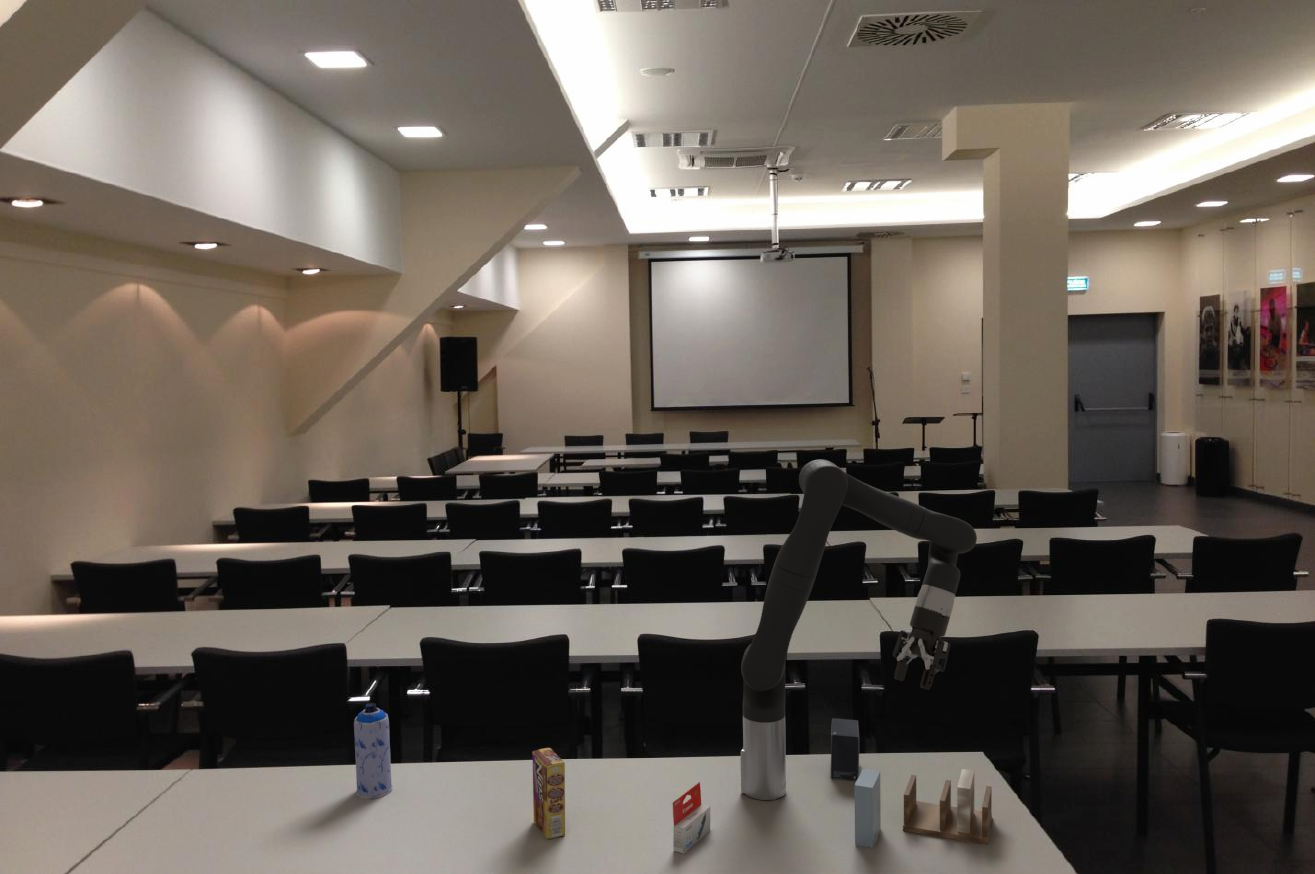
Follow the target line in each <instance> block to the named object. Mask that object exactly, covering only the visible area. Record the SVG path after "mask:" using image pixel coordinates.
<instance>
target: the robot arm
mask: <svg viewBox="0 0 1315 874" xmlns="http://www.w3.org/2000/svg"><path fill="white" fill-rule="evenodd" d="M798 483H799V487H800V489H801V491H802V493H803V499H802V503H801V507H800V509H799V510H800V511H799V514H798V518H797V520H796V523H795V525H794V527H793V528H792V531H790V534H789V535H788V536H787V537H786V540H785V541H784V543H783V544H782V546H781V547H780V549H779V551H778V553H777V555H776V558H775V561H774V563H773V567H772V569H771V573H770V576H769V579H768V583H767V587H766V591H765V595H764V600H763V605H762V609H761V616H760V620H759V623H758V626H757V629H756V632H755V635H754V637H753V639H752V641H751V643H750V644H749V645H748V646H747V647H746V649H745V650H744V653H743V656H742V658H741V659H742V660H741V665H740V670H741V676H742V678H743V691H742V692H743V696H742V697H743V698H742V734H743V736H742V740H743V741H742V744H743V746H742V749H741V750H740V753H739V754H740V793H741V794H743V793H745V794H744V795H746V794H747V795H746V796H748V797H750V798H752V799H755V800H762V801H763V800H764V801H770V800H771V801H773V800H776V799H777V800H778V799H779V798H782V797H784V796H785V795H786V793H787V769H786V768H787V764H786V763H787V761H786V757H787V756H786V752H787V751H786V750H787V749H786V660H787V655H788V651H789V647H790V643H791V640H792V637H793V633H794V631H795V629H796V627H797V624H798V623H799V620H800V618H801V616H802V614H803V612H804V609H805V607H806V605H807V602H808V600H809V597H810V595H811V593H812V590H813V587H814V583H815V581H816V578H817V574H818V572H819V568H820V565H821V561H822V558H823V555H824V551H825V549H826V544H827V541H828V538H829V536H830V535H829V534H830V531H831V529H832V526H833V524H834V523H835V520H836V518H837V516H838V514H839V511H840V509H841V507H842V506H844V507H847V508H850V509H851V510H854V511H855V512H856V511H857V512H859V513H861V514H862V515H865V516H866V517H868V518H870V519H872V520H874V521H875V522H877V523H879V524H881V525H883V526H885V527H887V528H889V529H892V530H893V531H896V532H899V533H900V534H903V535H905V536H907V537H910V538H912V539H916V540H922V541H927V542H929V546H928V547H929V548H928V560H927V561H928V562H927V563H928V564H927V568H926V572H925V574H924V579H923V581H922V585H921V588H920V590H919V592H918V594H917V598H916V601H915V605H914V608H913V611H912V615H911V618H910V622H909V626H910V627H911V631H910V632H908V631H906V630H902V629H901V630H900V631H899V634H898V637H897V640H896V643H895V645H894V649H893V652H892V657H894V658H895V659H896V661H897V664H896V666H895V670H894V674H893V675H894V676H893V677H894V679H895V680H897V681H899V682H904V681H905V679H906V675H907V672H908V668H909V663H910V662H911V661H912V660H913V659H917V657H920V658H921V660H923V661H924V666H925V669H924V670H923V673H922V677H921V681H920V682H919V686H920V688H922V689H924V690H928V691H930V690H931V687H932V686H933V682H934V679H935V676H936V674H937V673H939V672H945V670H946V666H947V662H948V658H949V653H950V650H951V643H949V642H947V641H944V640H941V637H942V638H943V637H945V636H946V634H947V630H948V626H949V623H950V619H951V615H952V611H953V609H954V606H955V605H954V603H955V599H956V594H957V590H958V587H959V584H960V580H961V571H960V568H958V567H957V563H958V556H959V554H965V553H969V552H971V550H973V549H974V548H975V546H976V544H977V540H978V536H977V532H976V530H975V529H974V527H973V526H972V525H971V524H970V523H968V522H967V521H965V520H962V519H960V518H958V517H954V516H951V515H947V514H944V513H940V512H937V511H933V510H930V509H928V508H926V507H924V506H922V505H920V504H918V503H915V502H913V501H911V500H907V499H905V498H903V497H901V496H898V495H895V494H892V493H891V492H887V491H884V490H882V489H879V488H877V487H874V486H872V485H870V484H868V483H865V482H863V481H861V480H860V479H857V478H856V477H854V476H852V475H850V474H848V473H846V472H845V471H844V470H843V469H842V468H840V467H839V466H838V465H837V464H835V463H834V462H831V461H830V460H827V459H815V460H811V461H810V462H808V463H806V464H804V466H803V467H802V468H801V470H800V473H799V475H798ZM900 650H901V652H900Z"/></svg>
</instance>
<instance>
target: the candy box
mask: <svg viewBox="0 0 1315 874" xmlns="http://www.w3.org/2000/svg"><path fill="white" fill-rule="evenodd" d="M565 767H566V765H565V761H564V760H563V759H562V758H561V757H560V756H559V755H558V754H557V753H556V752H555V751H554V750H553V749H552V748H551V747H545V748H540V749H535V750H533V751H532V797H533V799H532V801H533V802H532V803H533V805H532V806H533V807H532V808H533V823H534V824H535V826H537V828H538V829H539V831H540V832H541V833H542V835H544V837H545V838H546V840H550V839H555V838H556V839H557V838H560V837H562V836H563V837H564V836H566V790H565V789H566V785H565V784H566V778H565V777H566V773H565V772H566V768H565Z"/></svg>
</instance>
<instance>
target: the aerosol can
mask: <svg viewBox="0 0 1315 874" xmlns="http://www.w3.org/2000/svg"><path fill="white" fill-rule="evenodd" d="M353 728H354V729H353V732H354V751H355V752H354V753H355V755H354V756H355V757H354V758H355V774H356V776H355V777H356V792H355V793H356V794H355V795H356V796H357V797H359V798H360V799H365V800H371V799H377V798H383V797H385V796H387V795H389V794H390V793H391V792H392V791H393V785H392V765H391V763H392V762H391V761H392V760H391V746H390V744H391V743H390V740H391V739H390V738H391V737H390V721H389V715H388V713H386V712H385V711H384V710H383V709H380V708H378V707H377V703H375V702H368V703H366V704H365V709H363V710H362V711H360V712H359V713H358V714H357V716H356V717H355V718H354V722H353Z"/></svg>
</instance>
